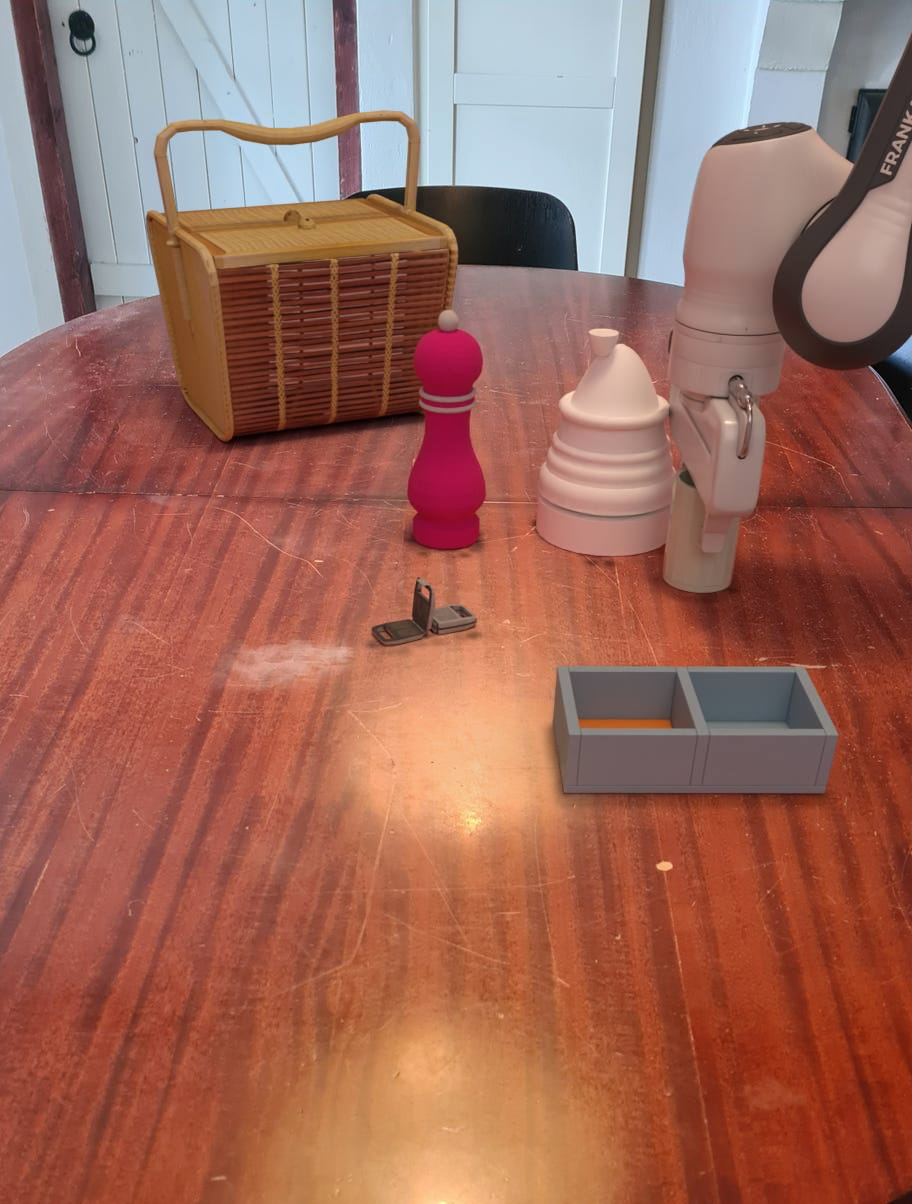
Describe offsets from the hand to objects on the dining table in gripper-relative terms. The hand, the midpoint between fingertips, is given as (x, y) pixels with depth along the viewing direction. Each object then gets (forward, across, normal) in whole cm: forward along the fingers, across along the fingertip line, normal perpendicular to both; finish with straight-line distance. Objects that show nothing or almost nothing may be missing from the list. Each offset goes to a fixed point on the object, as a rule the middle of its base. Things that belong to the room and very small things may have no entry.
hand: (699, 526), depth 106 cm
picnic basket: (+6, +46, +37) cm, 60 cm away
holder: (+5, -29, +6) cm, 30 cm away
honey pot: (+5, +11, +6) cm, 14 cm away
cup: (+5, 0, 0) cm, 5 cm away
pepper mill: (+5, +9, +22) cm, 24 cm away
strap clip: (+5, -10, +24) cm, 26 cm away
